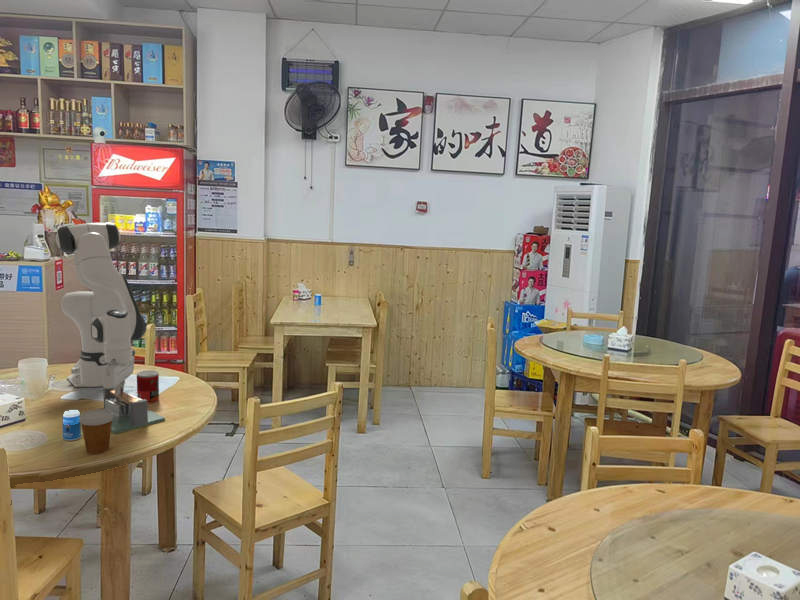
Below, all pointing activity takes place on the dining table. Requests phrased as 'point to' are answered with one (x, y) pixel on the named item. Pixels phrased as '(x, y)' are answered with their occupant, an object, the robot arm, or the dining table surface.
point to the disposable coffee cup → (96, 430)
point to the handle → (124, 397)
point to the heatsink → (119, 409)
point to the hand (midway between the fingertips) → (119, 393)
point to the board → (128, 423)
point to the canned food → (148, 386)
